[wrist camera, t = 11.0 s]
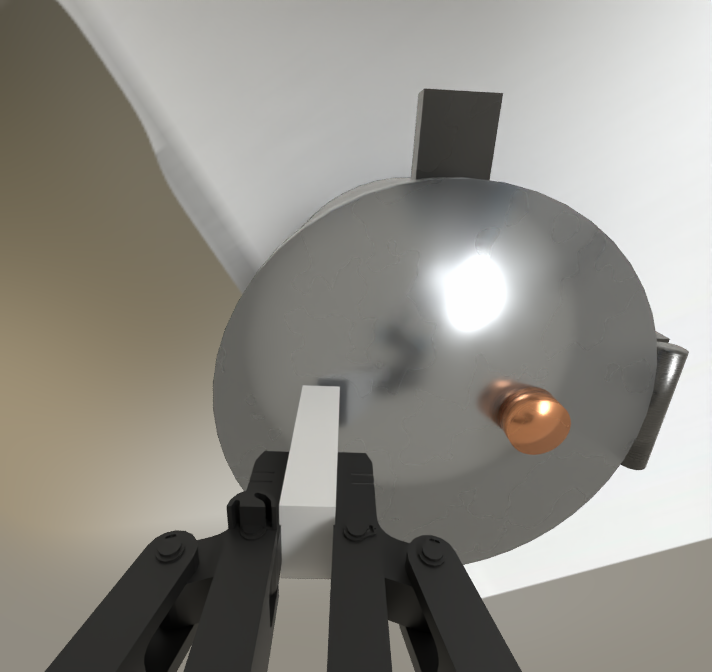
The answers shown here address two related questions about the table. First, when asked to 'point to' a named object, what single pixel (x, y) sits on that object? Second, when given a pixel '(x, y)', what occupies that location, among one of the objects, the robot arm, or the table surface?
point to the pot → (449, 141)
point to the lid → (453, 357)
